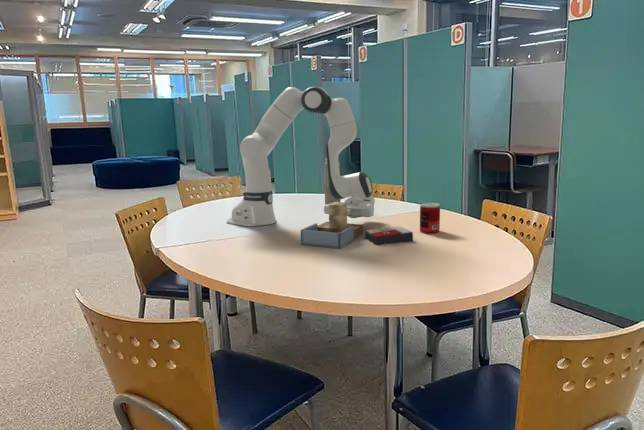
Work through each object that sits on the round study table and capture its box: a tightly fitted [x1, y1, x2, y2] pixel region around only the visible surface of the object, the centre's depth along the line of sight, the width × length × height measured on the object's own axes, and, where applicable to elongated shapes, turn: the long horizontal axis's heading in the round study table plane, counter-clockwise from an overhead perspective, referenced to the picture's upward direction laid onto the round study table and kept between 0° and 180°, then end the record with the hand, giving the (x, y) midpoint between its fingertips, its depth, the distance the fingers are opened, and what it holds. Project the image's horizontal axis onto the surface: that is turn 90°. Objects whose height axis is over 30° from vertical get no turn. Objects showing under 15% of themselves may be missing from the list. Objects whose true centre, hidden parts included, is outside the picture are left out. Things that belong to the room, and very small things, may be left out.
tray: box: [300, 222, 354, 249], centre depth 185 cm, size 16×12×6 cm
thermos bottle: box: [323, 157, 341, 206], centre depth 253 cm, size 8×8×28 cm
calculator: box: [364, 225, 414, 246], centre depth 188 cm, size 11×4×15 cm
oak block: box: [328, 201, 348, 229], centre depth 193 cm, size 5×6×9 cm
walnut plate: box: [317, 221, 364, 242], centre depth 195 cm, size 16×10×4 cm, turn 64°
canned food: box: [419, 202, 441, 235], centre depth 198 cm, size 8×8×11 cm
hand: (341, 213), depth 196 cm, fingers closed
